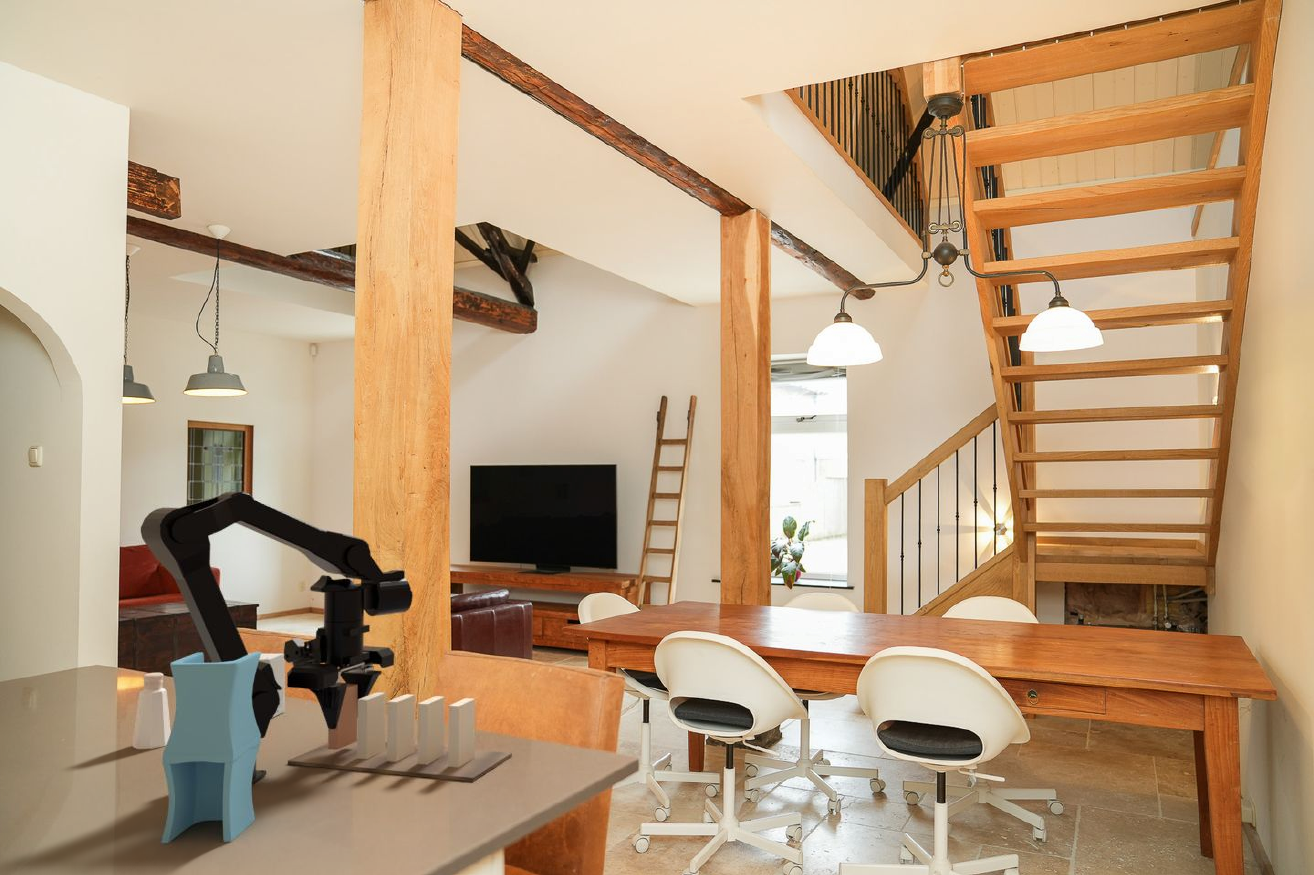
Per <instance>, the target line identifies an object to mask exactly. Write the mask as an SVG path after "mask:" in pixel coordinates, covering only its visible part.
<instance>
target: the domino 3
mask: <svg viewBox="0 0 1314 875" xmlns="http://www.w3.org/2000/svg"><path fill="white" fill-rule="evenodd" d="M445 699H446V697H445V696H439V695H437V696H436V695H435V696H432V697H430V698H428V699H425V700H423V701H421V702H418V703H417V745H418V746H417V764H426V765H428V764H429V763H431V762H433V761H435V760H436V759H438V758H440V757H442V756H444V747H445V738H446V737H445V736H446V734H445V727H446V726H445V723H446V722H445V720H446V716H445V715H446V714H445V713H446V712H445V708H446V707H445V704H446V701H445Z"/></svg>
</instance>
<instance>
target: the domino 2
mask: <svg viewBox="0 0 1314 875" xmlns="http://www.w3.org/2000/svg"><path fill="white" fill-rule="evenodd" d="M386 709H387V710H386V711H387V712H386V742H387V761H392V762H397V761H399V760H401V759H403V758H405V757H407V756H409V755H411V754H413V753H415V745H416V744H415V743H416V741H415V738H416V736H415V735H416V732H415V731H416V727H415V726H416V724H415V723H416V714H415V713H416V695H415V694H407V693H406V694H405V693H404V694H403V695H400V696H398V697H395V698H392V699H391V700H388V701H386Z"/></svg>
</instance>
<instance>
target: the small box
mask: <svg viewBox="0 0 1314 875" xmlns="http://www.w3.org/2000/svg"><path fill="white" fill-rule="evenodd" d="M249 654H250V653H248V655H249ZM259 661H261V662H265V663H269V664H270V665H271V667H272V669H273V673H274V677H275V680H276V682H277V683H278V685H280V686H281V687H282V689H281V690H277V691H278V693H279V696H280V705H279V706H278V708H277V711H276V713H275V714H274V716H273V717H272V718H275V717H277V716H280V715H281V714H283V713H285V711H286V671H285V670H286V663H285V662H286V660H285V659H284V653H261V656H260V659H259ZM272 718H271V719H272Z"/></svg>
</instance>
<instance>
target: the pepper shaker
mask: <svg viewBox="0 0 1314 875" xmlns="http://www.w3.org/2000/svg"><path fill="white" fill-rule="evenodd" d="M142 678H143V689H142V690H140V692H138V693H139V694H138V698H137V699H138V700H137V708H136V715H135V721H134V723H135V724H134V729H133V737H132V743H131V747H132V748H134V749H136V750H152V749H157V748H159V749H160V748H162V747H166V745H167V742H168V739H169V736H170V734H171V731H172V730H171V721H170V713H169V712H170V711H169V702H168V701H169V700H168V692H167V689H166V688H165V687H163V683H164V680H163V678H164V673H162V672H149V673H146V674H144V675H143V676H142Z"/></svg>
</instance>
